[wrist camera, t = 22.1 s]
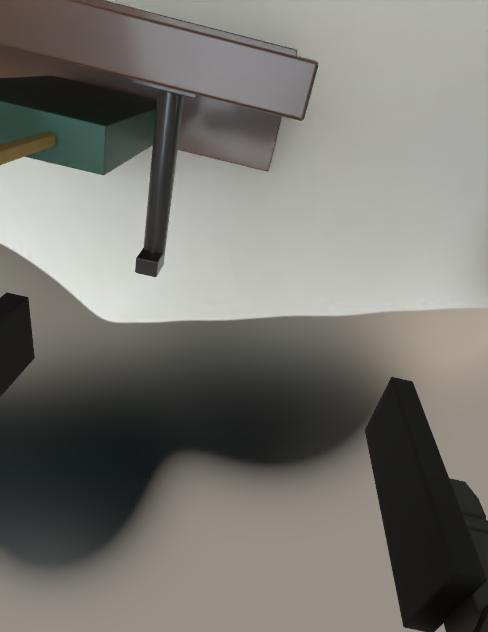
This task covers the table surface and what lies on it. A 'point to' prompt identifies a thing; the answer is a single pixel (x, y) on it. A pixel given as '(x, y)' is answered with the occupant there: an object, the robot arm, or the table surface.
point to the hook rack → (164, 84)
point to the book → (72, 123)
